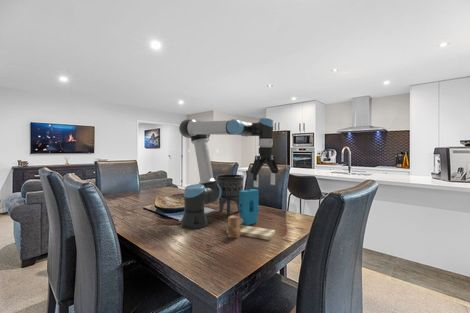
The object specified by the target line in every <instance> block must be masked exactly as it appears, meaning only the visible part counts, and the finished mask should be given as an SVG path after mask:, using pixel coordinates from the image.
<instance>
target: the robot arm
mask: <svg viewBox="0 0 470 313" xmlns="http://www.w3.org/2000/svg"><path fill="white" fill-rule="evenodd" d="M178 128H179V129H178V130H179V133H180V134H181V136H183V137H184V138H187V139H190V140H191V141H190V142H191V144H193V145H194V152H195V157H196V164H197V169H198V175H199V180H200V181H199V182H198V183H195V184H190V185H188V186H186V187H184V194H183V197H184V199H183V200H184V201H183V202H184V206H183V207H184V211H183V216H182V220H181V222H180V223H181V224H180V225H181V227H182V228H184V229H188V230H196V229H202V228H205V227H206V226H208V219H207V215H206V213H205V205H208V204H211V203H215V202H217V201H219V198H220V197H221V193H222V191H221V187H220V186H219V185H218V184H217V183H216V178H214V174H213V168H212V162H211V156H210V151H209V144H208V142H209V141H210V136H211V135H217V136H218V135H226V136H227V135H231V136H232V135H233V136H234V135H235V136H241V137H258V154H259V155H255V156H254V161H253V164H252V166H251V168H250V171H249V173H250V174H251V175H253V176H252V180H253V187H254V188H259V181H260V180H259V177H260V176H259V175H260V174H258V173H259V172H260V170H261V169H262V167H263V166H264V165H267V166H268V168H269V169H270V171H271V172H270V185H271V186H272V185H273V186H275V185H276V178H277V176H276V174H278V172H279V168H278V164H277V161H276V156H275V155H273V152H274V151H273V144H274V142H273V141H274V120H273V118H270V117H261V118H259V120H258V122H249V121H243V120H240V119H237V118H236V119H234V118H233V119H231V120H229V119H228V120H208V121H207V120H202V121H201V120H196V119H190V118H187V119H184V120H183V121H181V122H180V124H179V127H178Z"/></svg>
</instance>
